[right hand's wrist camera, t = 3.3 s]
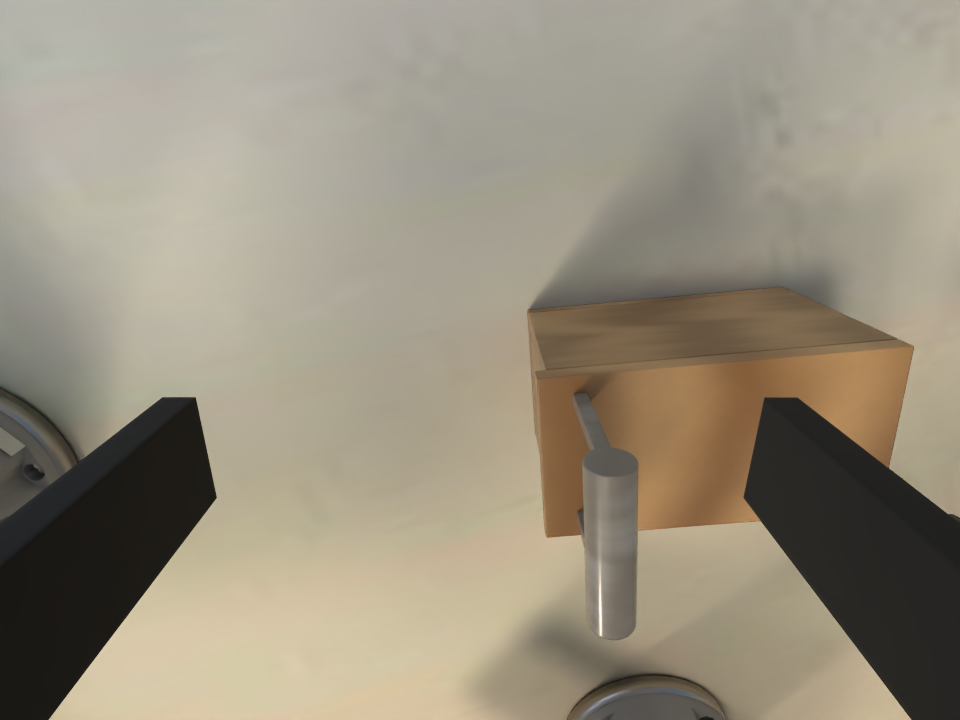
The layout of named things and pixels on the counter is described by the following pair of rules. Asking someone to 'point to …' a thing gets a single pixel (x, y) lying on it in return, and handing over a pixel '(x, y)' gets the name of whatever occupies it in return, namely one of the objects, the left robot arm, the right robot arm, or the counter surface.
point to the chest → (685, 329)
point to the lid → (687, 445)
